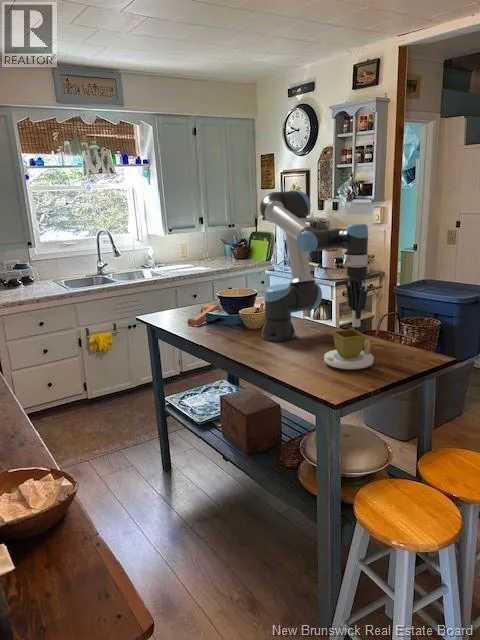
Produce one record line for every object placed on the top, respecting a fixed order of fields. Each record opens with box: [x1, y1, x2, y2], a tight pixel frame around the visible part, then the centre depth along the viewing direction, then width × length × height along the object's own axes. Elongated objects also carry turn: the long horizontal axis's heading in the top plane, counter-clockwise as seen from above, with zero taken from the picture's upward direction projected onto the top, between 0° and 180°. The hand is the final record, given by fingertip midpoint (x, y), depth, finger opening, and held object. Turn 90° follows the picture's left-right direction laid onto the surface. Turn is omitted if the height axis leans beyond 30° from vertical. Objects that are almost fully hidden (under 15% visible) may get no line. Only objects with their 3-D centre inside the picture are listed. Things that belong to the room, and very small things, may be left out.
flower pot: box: [332, 328, 366, 359], centre depth 177 cm, size 9×9×9 cm
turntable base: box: [333, 367, 364, 371], centre depth 178 cm, size 13×13×1 cm
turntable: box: [323, 339, 375, 370], centre depth 177 cm, size 18×18×7 cm
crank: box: [186, 303, 222, 327], centre depth 247 cm, size 20×8×8 cm, turn 144°
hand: (356, 326), depth 185 cm, fingers closed
